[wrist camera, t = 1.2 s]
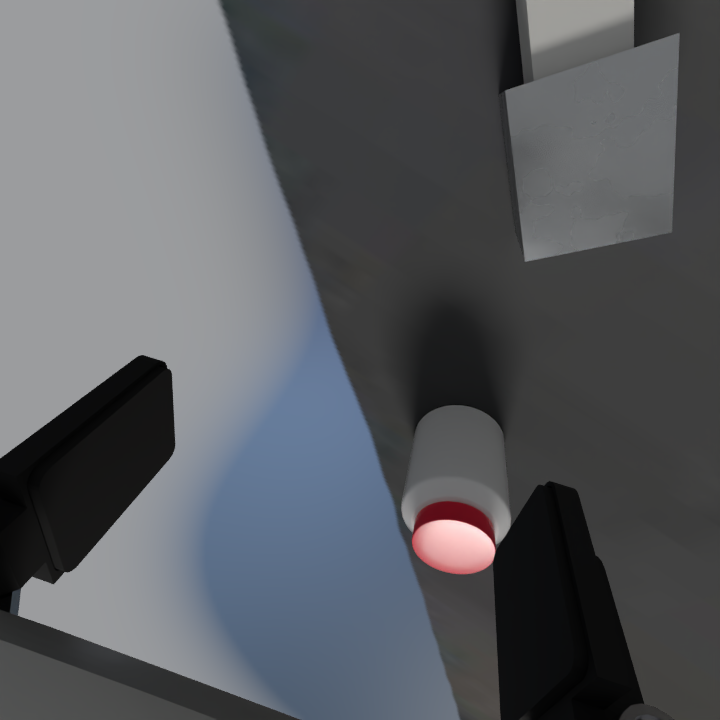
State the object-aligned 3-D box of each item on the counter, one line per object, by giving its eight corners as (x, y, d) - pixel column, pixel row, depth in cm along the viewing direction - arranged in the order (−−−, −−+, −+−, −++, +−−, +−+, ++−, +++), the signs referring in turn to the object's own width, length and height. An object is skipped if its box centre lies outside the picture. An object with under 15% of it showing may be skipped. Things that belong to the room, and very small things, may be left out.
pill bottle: (396, 432, 39) (372, 533, 29) (464, 388, 35) (459, 489, 26) (453, 485, 40) (446, 596, 31) (523, 448, 36) (540, 563, 27)
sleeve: (629, 51, 22) (679, 32, 17) (630, 206, 26) (671, 232, 20) (498, 94, 25) (505, 90, 19) (515, 232, 28) (524, 261, 22)
